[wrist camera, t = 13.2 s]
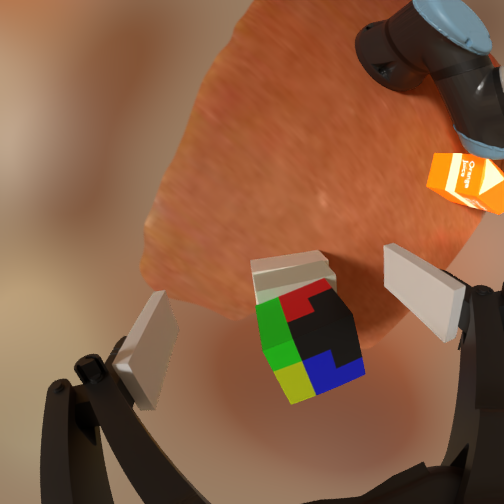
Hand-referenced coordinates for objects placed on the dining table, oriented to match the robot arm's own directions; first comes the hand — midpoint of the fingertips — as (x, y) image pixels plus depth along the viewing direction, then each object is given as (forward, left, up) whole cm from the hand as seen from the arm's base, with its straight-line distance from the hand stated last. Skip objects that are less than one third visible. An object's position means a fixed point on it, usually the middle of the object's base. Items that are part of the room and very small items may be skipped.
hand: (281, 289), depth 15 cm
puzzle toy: (-4, +15, -19) cm, 24 cm away
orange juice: (-41, -2, -31) cm, 51 cm away
